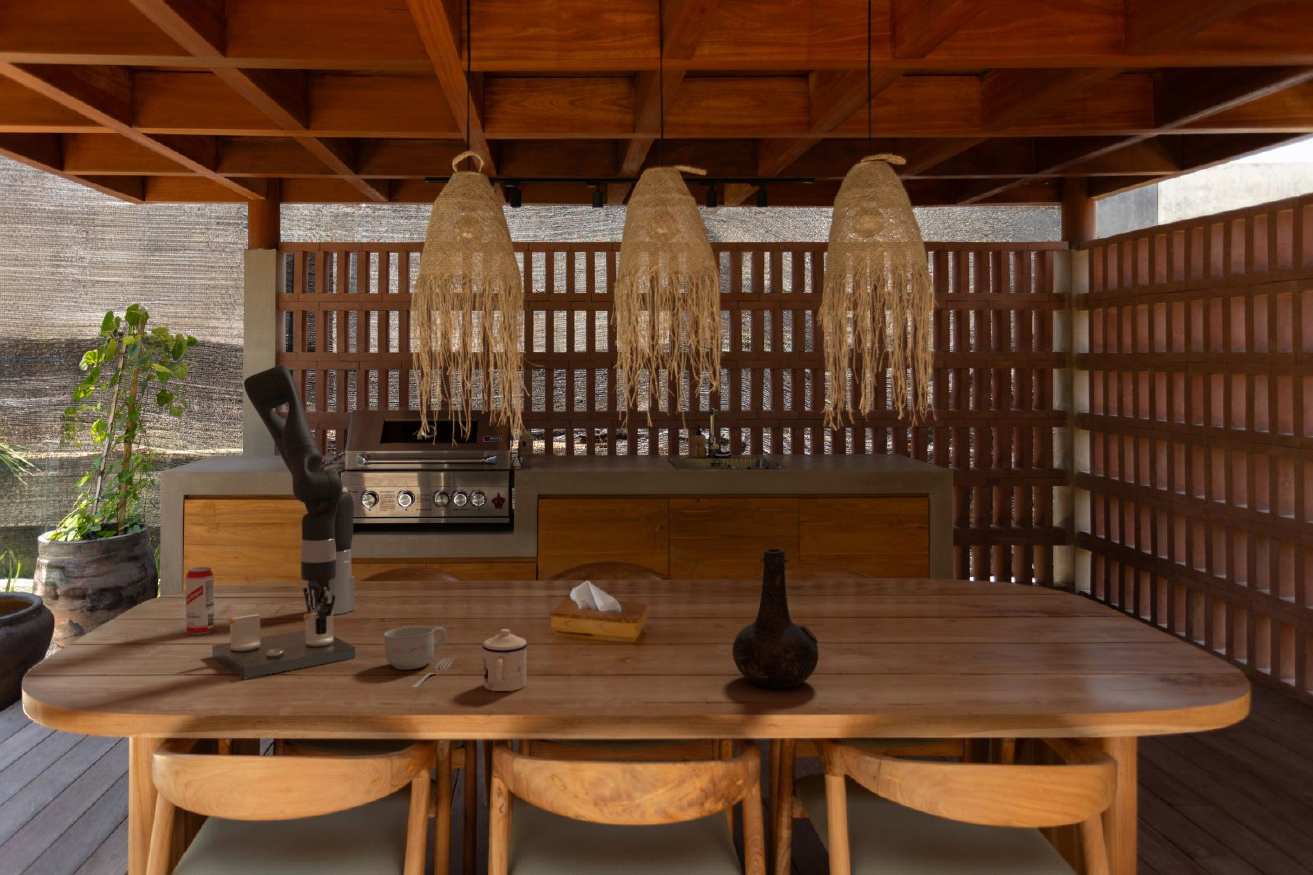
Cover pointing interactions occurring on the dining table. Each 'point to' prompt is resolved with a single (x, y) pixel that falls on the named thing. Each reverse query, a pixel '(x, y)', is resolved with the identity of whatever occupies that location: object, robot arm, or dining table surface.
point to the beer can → (200, 601)
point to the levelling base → (281, 655)
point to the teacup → (411, 646)
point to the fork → (433, 673)
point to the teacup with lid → (504, 662)
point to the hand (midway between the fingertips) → (319, 632)
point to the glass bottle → (775, 635)
